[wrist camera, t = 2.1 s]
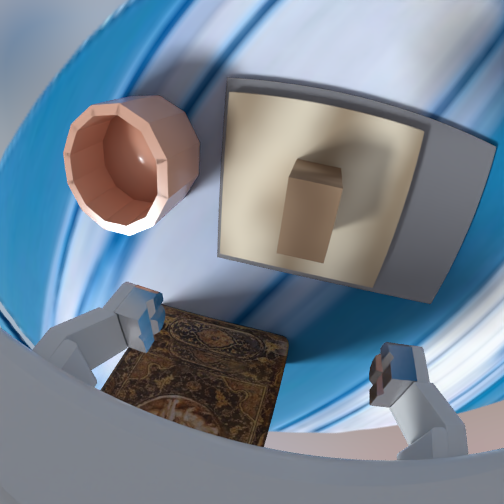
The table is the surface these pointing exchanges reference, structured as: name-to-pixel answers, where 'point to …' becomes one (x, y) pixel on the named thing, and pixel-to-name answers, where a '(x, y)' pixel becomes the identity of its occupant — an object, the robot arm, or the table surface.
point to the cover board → (320, 141)
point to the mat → (418, 198)
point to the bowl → (131, 161)
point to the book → (205, 376)
